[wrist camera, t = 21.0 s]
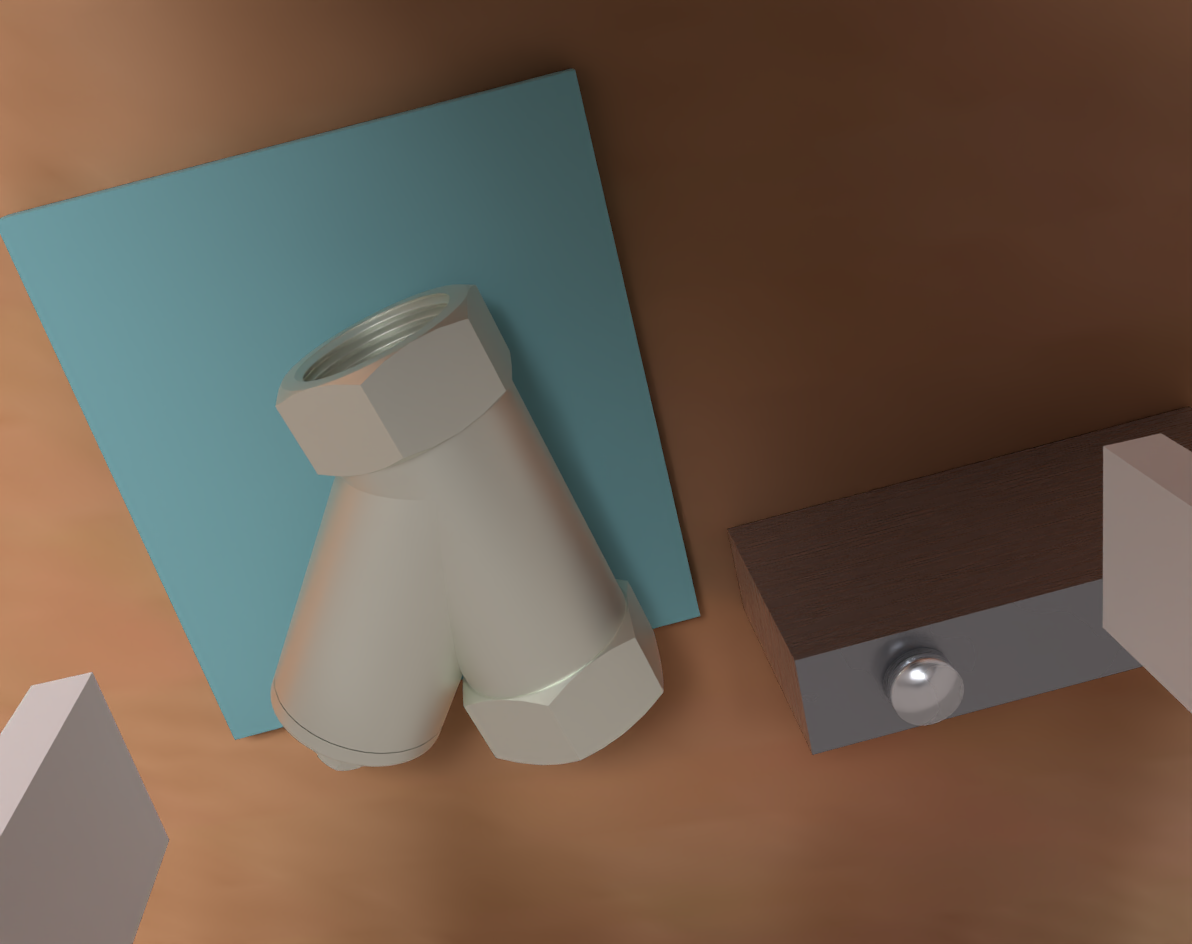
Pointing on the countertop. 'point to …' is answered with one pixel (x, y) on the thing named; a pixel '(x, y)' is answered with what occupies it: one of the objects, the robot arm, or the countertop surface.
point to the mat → (325, 308)
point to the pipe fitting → (447, 557)
